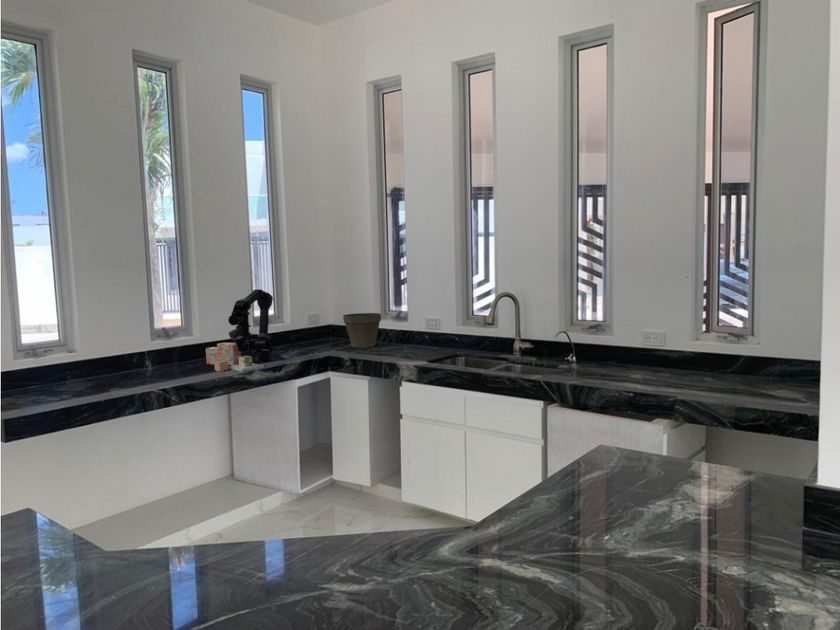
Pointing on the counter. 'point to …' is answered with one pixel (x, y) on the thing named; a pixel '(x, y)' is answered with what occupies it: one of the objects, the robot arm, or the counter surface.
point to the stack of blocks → (223, 353)
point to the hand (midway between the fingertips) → (244, 351)
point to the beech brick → (245, 361)
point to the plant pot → (362, 328)
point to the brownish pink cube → (221, 365)
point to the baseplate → (240, 368)
